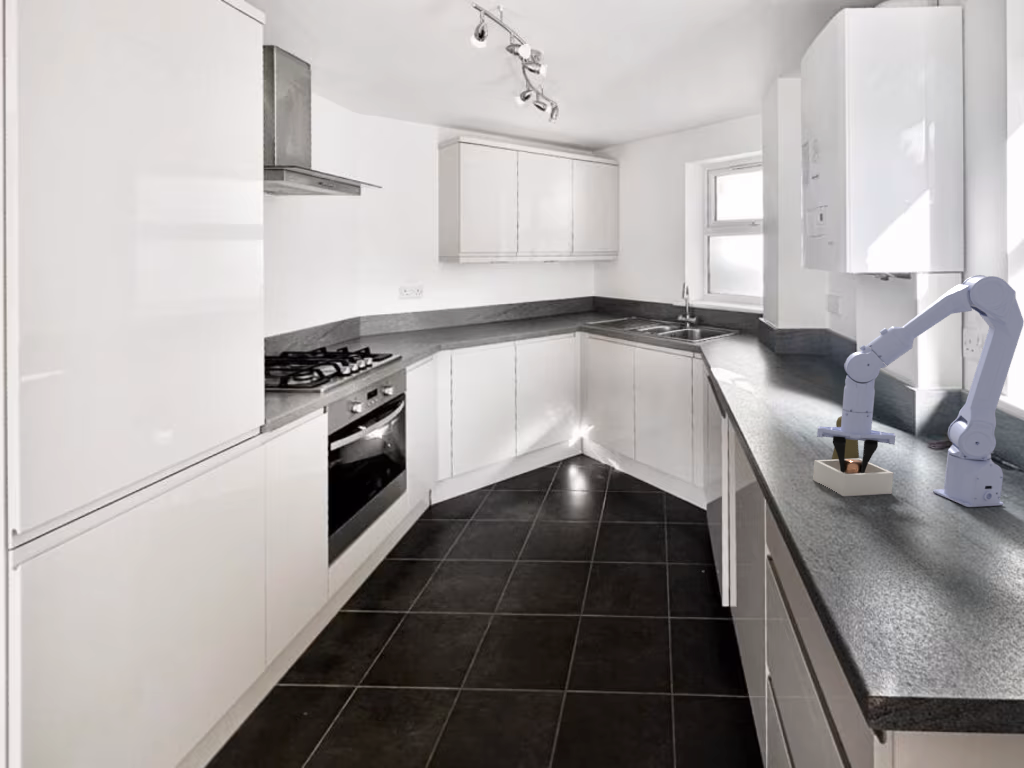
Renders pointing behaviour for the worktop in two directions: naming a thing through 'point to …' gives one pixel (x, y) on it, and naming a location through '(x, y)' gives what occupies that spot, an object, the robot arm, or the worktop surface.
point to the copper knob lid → (852, 466)
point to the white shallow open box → (853, 479)
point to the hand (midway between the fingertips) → (852, 473)
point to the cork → (847, 446)
